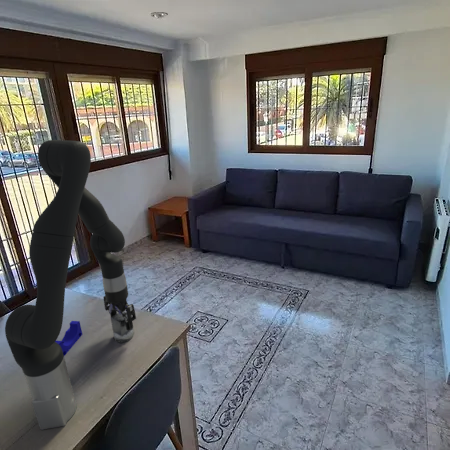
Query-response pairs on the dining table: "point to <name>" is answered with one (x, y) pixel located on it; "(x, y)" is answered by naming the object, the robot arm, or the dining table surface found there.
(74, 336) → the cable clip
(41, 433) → the dining table surface
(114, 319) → the grey paneled cube
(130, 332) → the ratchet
